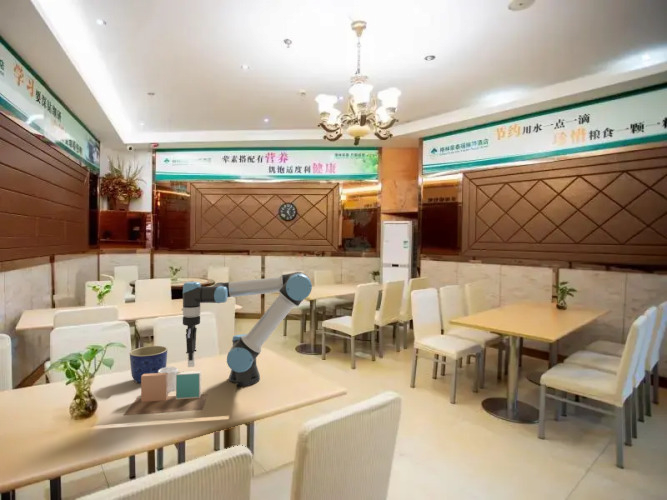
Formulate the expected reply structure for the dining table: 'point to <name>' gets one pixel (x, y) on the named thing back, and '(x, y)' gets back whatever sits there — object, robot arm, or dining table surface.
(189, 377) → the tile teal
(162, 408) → the board
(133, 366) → the planter
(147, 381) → the tile plain
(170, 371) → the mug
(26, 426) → the dining table surface
